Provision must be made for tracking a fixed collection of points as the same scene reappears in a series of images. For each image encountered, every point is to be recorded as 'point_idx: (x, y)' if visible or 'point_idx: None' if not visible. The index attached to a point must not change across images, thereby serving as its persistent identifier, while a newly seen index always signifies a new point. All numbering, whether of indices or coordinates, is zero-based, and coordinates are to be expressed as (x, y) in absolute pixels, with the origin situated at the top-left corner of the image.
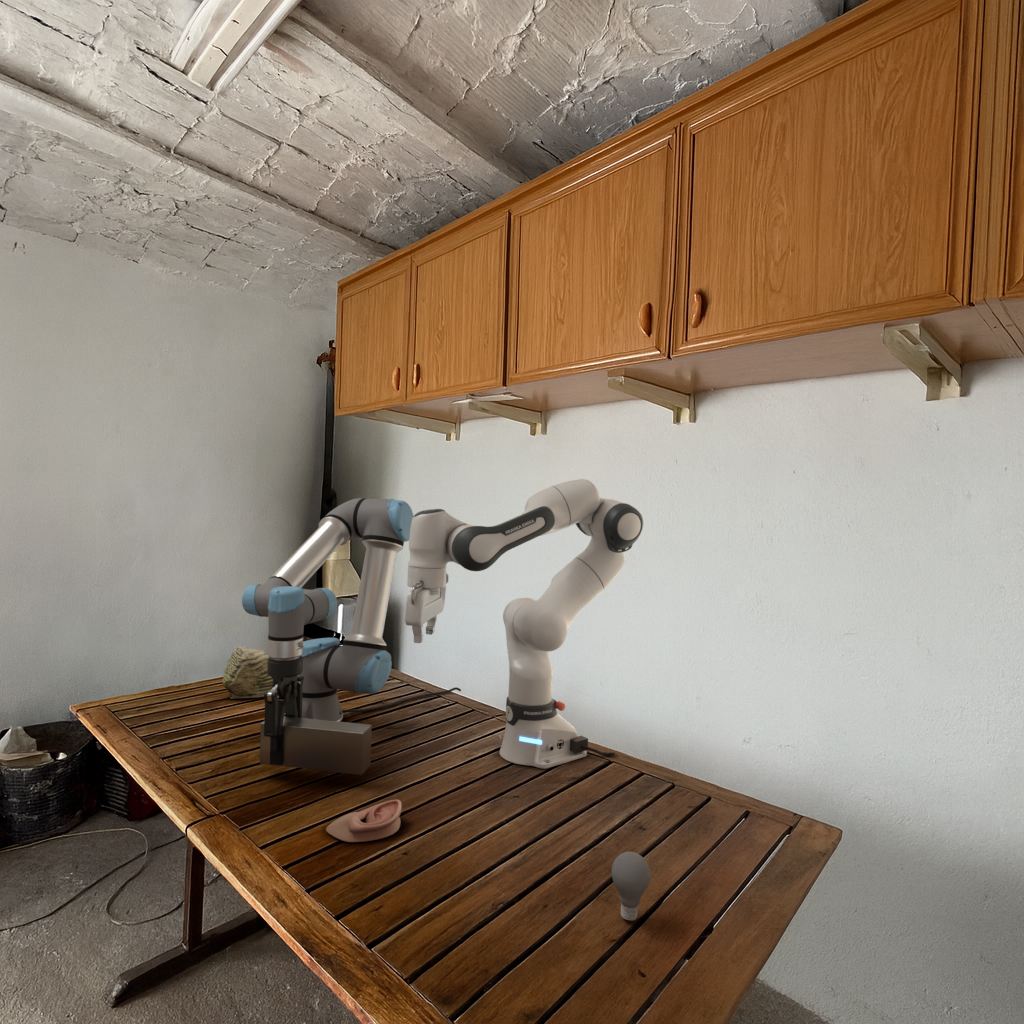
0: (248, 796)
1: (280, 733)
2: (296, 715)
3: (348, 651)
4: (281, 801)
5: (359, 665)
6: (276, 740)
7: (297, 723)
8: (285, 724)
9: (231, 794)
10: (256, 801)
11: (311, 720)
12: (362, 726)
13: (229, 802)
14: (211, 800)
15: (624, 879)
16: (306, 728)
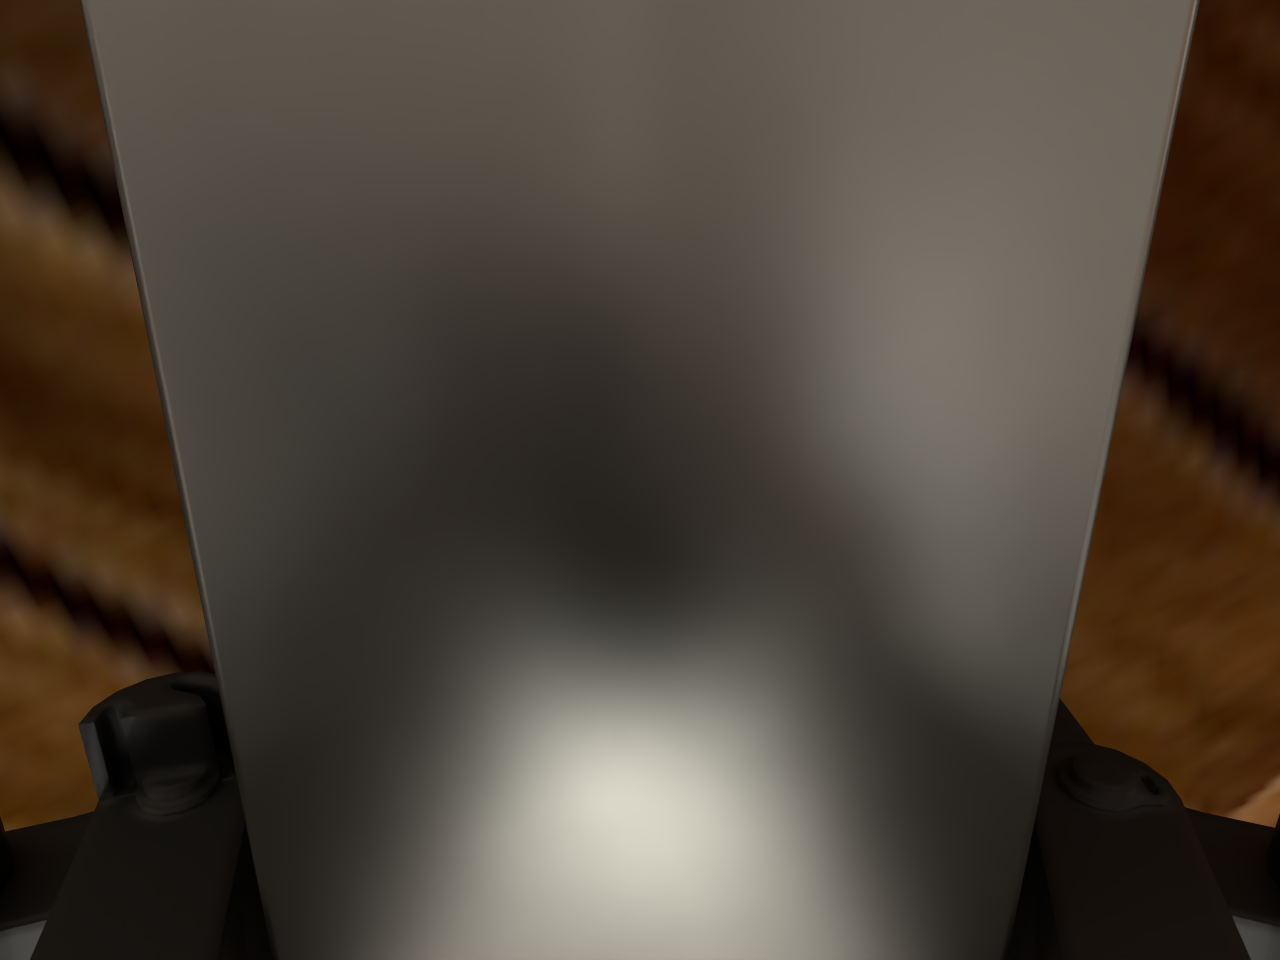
0: (1139, 553)
1: (1123, 787)
2: (129, 939)
3: None
4: (1243, 175)
5: None
6: (1083, 741)
7: (776, 618)
8: (927, 907)
9: (1107, 706)
10: (1245, 430)
11: (328, 239)
12: None
13: (1267, 646)
14: (1229, 791)
15: None
16: (1174, 47)
